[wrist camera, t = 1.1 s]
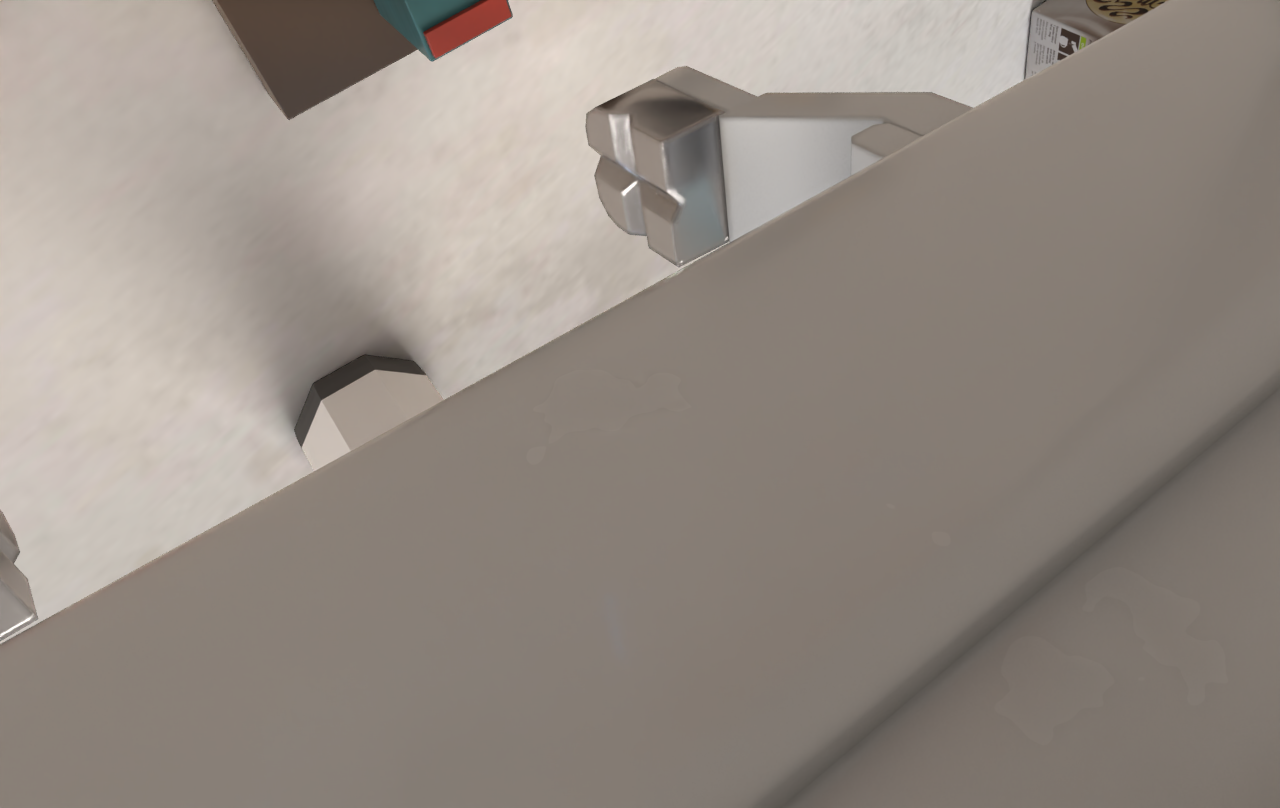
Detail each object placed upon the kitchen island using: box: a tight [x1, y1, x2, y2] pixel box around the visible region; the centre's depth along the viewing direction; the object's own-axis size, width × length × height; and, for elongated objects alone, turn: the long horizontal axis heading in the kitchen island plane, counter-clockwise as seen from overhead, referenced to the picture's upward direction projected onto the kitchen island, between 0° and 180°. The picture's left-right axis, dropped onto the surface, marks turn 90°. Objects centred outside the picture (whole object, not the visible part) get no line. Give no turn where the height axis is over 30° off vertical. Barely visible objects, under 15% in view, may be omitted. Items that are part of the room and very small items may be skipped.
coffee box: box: [1025, 0, 1168, 79], centre depth 62 cm, size 9×6×16 cm
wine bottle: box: [294, 355, 443, 471], centre depth 44 cm, size 8×8×30 cm
